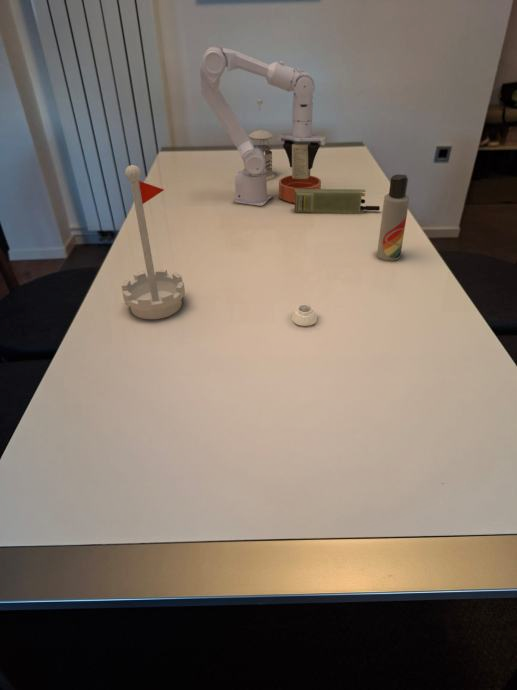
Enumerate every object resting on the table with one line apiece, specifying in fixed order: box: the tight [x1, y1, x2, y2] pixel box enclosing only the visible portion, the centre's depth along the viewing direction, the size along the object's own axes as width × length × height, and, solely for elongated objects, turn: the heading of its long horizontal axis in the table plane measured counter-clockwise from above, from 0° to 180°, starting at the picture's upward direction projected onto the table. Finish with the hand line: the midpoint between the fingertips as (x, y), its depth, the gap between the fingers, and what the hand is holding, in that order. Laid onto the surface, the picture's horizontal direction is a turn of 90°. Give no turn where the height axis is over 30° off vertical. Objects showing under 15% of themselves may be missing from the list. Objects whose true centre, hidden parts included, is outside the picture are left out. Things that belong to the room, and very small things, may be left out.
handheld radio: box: [294, 188, 381, 214], centre depth 146 cm, size 7×3×25 cm
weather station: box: [248, 98, 276, 181], centre depth 170 cm, size 10×12×25 cm
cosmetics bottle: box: [291, 142, 311, 179], centre depth 150 cm, size 5×4×10 cm
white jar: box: [291, 304, 318, 327], centre depth 101 cm, size 5×3×5 cm
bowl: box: [278, 174, 322, 204], centre depth 157 cm, size 13×13×5 cm
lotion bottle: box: [376, 174, 410, 262], centre depth 118 cm, size 6×6×20 cm
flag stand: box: [121, 164, 186, 320], centre depth 99 cm, size 13×13×30 cm
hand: (301, 167), depth 152 cm, fingers closed on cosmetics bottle, 5 cm apart
